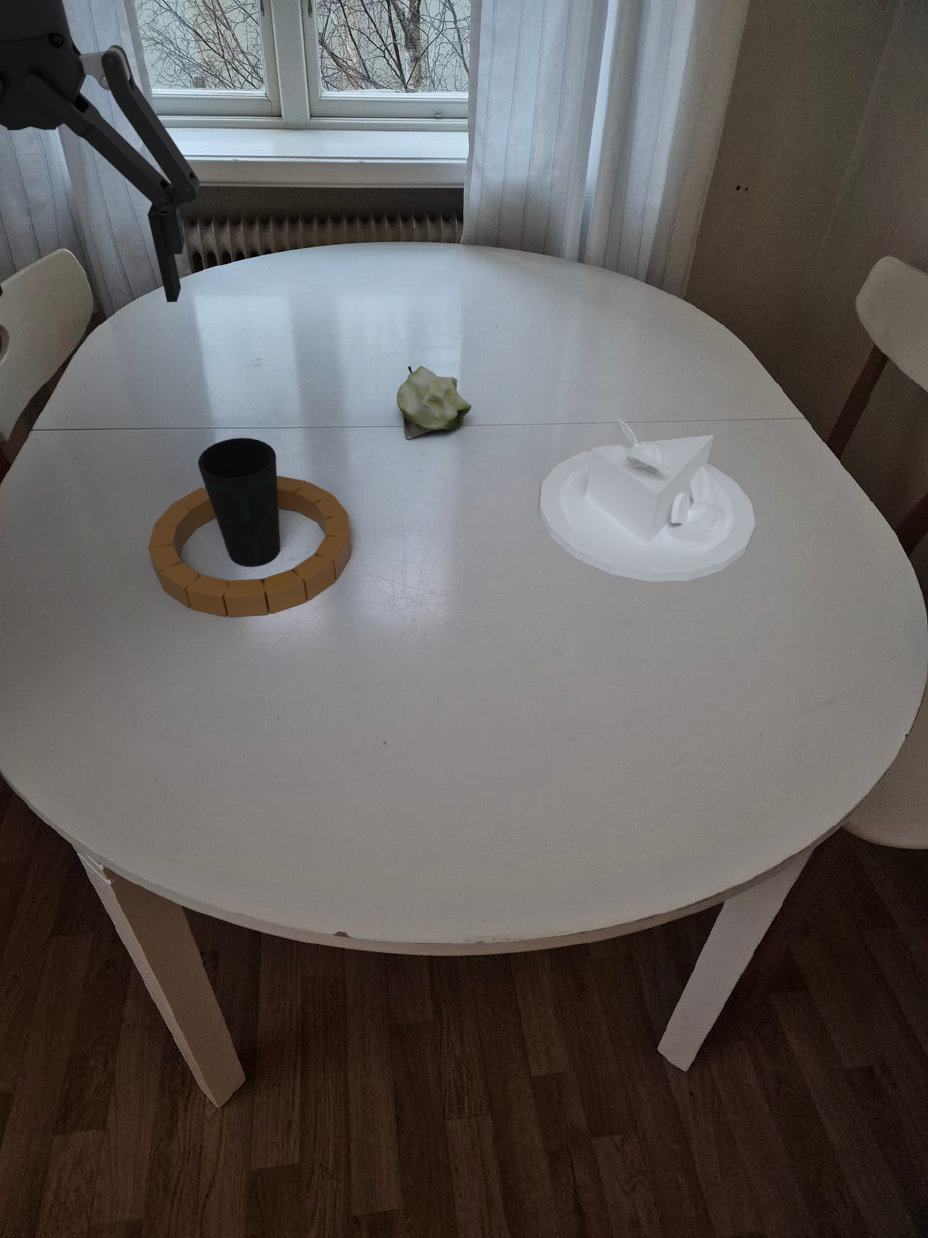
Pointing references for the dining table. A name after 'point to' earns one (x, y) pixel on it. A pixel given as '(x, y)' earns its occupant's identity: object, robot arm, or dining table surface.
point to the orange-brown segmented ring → (251, 593)
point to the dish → (647, 509)
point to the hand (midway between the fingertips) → (84, 297)
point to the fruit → (430, 403)
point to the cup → (244, 498)
